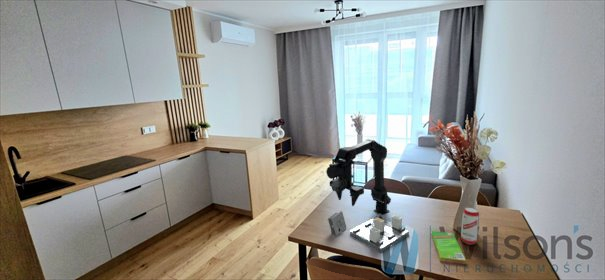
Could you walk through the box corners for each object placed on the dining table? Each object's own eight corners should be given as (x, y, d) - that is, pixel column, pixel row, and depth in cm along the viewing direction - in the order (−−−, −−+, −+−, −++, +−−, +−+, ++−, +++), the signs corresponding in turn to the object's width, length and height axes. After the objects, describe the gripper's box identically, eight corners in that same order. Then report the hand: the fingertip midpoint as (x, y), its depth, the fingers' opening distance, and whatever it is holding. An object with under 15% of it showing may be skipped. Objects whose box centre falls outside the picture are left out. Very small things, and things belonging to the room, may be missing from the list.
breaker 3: (394, 224, 137) (395, 214, 136) (401, 227, 134) (402, 217, 133) (391, 226, 135) (391, 216, 134) (398, 229, 132) (399, 219, 131)
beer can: (476, 247, 120) (480, 214, 117) (460, 243, 124) (463, 211, 120) (476, 239, 126) (479, 208, 122) (460, 236, 129) (463, 205, 125)
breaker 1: (377, 227, 135) (377, 217, 134) (384, 230, 132) (384, 220, 131) (374, 229, 134) (374, 218, 133) (380, 232, 131) (381, 221, 129)
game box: (439, 263, 113) (430, 234, 132) (465, 266, 110) (452, 236, 129) (440, 257, 112) (430, 228, 131) (466, 260, 110) (453, 230, 129)
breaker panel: (377, 219, 147) (377, 214, 146) (408, 234, 132) (409, 229, 131) (350, 234, 135) (350, 228, 134) (381, 252, 120) (381, 246, 119)
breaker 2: (372, 237, 127) (372, 226, 126) (379, 241, 124) (380, 229, 123) (369, 239, 126) (369, 228, 125) (376, 243, 123) (376, 231, 121)
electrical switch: (337, 236, 134) (335, 219, 132) (328, 234, 137) (326, 217, 136) (346, 228, 141) (345, 211, 139) (338, 226, 144) (336, 209, 143)
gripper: (321, 172, 136) (322, 201, 139) (348, 183, 121) (348, 214, 125) (337, 167, 142) (337, 195, 146) (364, 176, 127) (364, 207, 131)
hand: (346, 202), depth 137 cm, fingers open, 9 cm apart
